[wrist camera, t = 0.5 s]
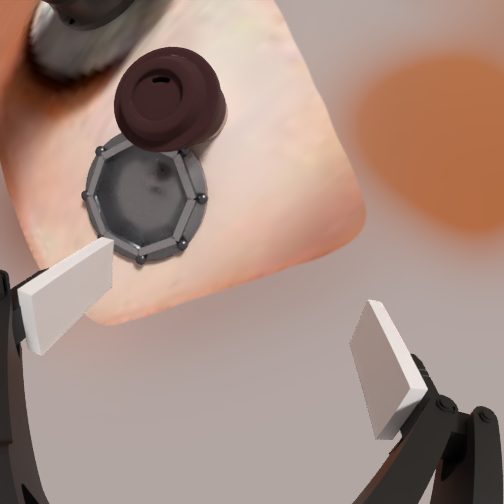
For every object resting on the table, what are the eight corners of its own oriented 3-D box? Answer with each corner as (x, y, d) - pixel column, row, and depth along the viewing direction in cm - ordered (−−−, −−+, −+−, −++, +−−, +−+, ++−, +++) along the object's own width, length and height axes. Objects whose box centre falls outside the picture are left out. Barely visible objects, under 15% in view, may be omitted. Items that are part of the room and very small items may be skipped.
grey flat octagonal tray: (75, 161, 40) (66, 162, 38) (180, 106, 37) (175, 104, 35) (117, 272, 45) (110, 277, 43) (227, 235, 41) (224, 240, 39)
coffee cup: (202, 168, 39) (159, 176, 25) (149, 121, 38) (86, 110, 23) (255, 109, 36) (239, 83, 22) (198, 64, 35) (155, 22, 21)
